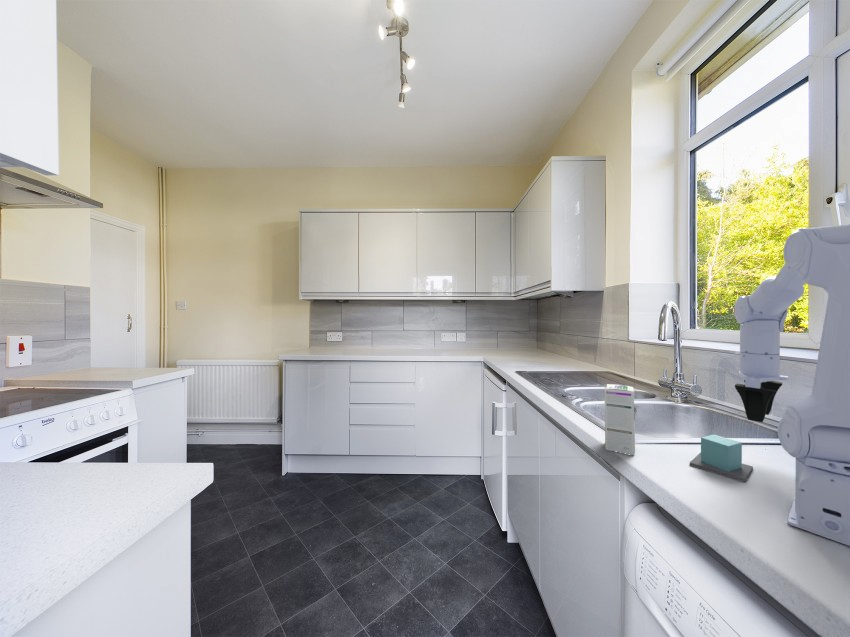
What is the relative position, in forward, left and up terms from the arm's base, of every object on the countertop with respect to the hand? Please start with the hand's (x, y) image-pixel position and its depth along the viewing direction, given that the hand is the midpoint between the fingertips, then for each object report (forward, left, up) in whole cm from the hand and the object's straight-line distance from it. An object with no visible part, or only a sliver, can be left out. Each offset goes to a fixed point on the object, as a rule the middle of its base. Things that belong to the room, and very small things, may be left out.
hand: (758, 417), depth 65 cm
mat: (-10, +4, -9) cm, 14 cm away
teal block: (-10, +4, -9) cm, 14 cm away
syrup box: (-17, +20, -10) cm, 28 cm away
